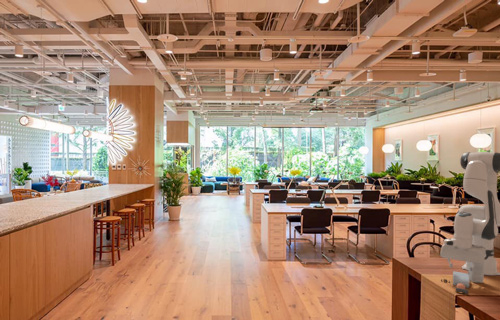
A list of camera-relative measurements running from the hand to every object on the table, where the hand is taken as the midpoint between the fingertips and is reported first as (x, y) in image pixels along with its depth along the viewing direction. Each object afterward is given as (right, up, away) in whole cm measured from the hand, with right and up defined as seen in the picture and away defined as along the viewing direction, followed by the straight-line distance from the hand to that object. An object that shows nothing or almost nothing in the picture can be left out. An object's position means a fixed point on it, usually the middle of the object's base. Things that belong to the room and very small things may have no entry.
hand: (461, 268), depth 186 cm
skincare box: (+9, -7, +2) cm, 11 cm away
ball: (-10, -4, -17) cm, 20 cm away
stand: (-9, -6, -2) cm, 11 cm away
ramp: (-2, -6, -3) cm, 8 cm away
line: (-7, -6, -11) cm, 15 cm away
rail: (-11, -6, -18) cm, 22 cm away
